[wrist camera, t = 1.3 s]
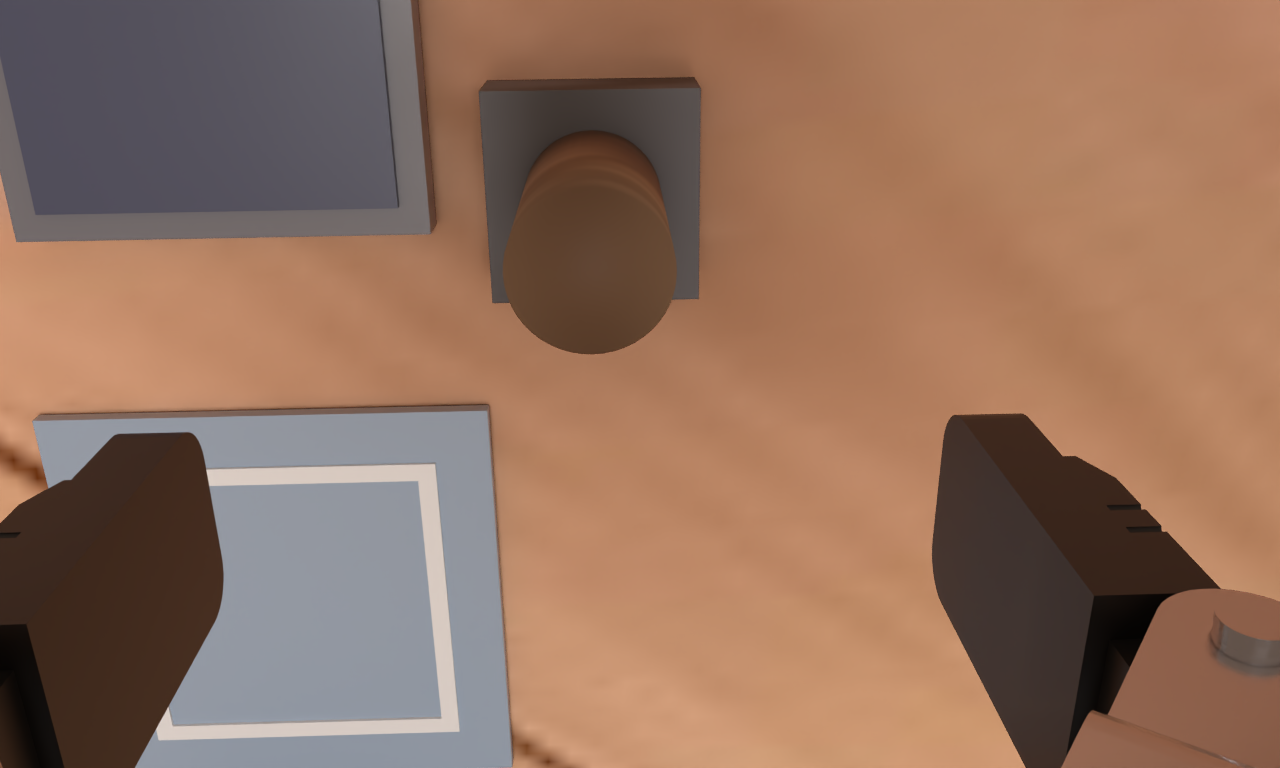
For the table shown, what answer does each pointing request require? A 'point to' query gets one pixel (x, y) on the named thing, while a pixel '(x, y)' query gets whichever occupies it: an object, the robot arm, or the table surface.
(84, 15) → the pad
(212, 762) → the mat
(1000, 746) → the table surface
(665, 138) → the stamp
